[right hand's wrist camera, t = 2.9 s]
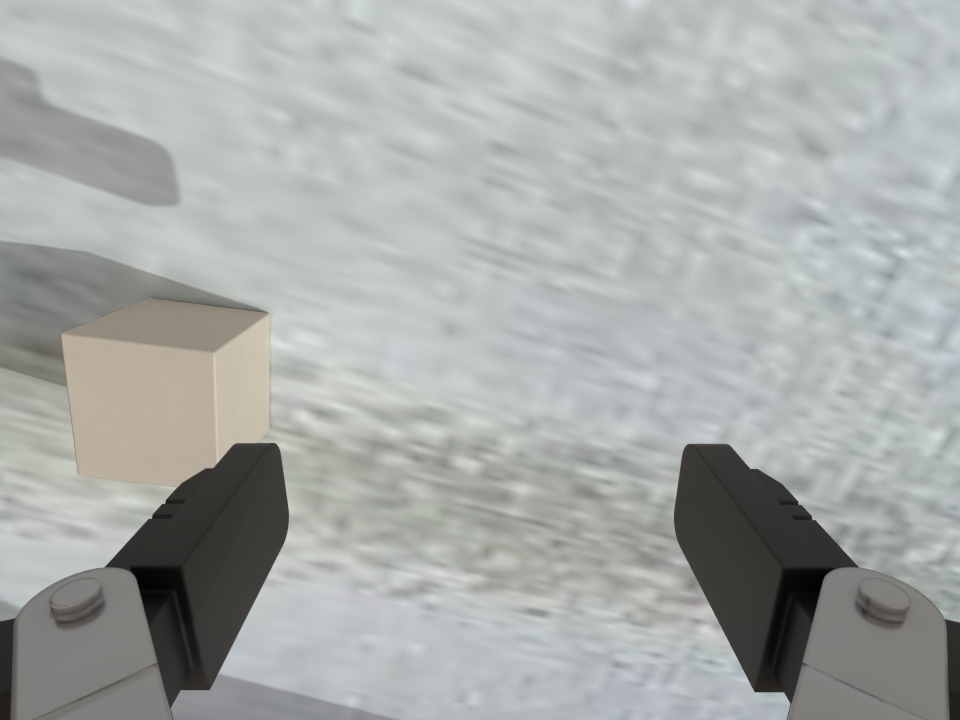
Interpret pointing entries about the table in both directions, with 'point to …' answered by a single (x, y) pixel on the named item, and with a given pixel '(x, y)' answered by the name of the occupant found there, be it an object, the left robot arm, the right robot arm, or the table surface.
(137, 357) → the beige cube
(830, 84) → the table surface
